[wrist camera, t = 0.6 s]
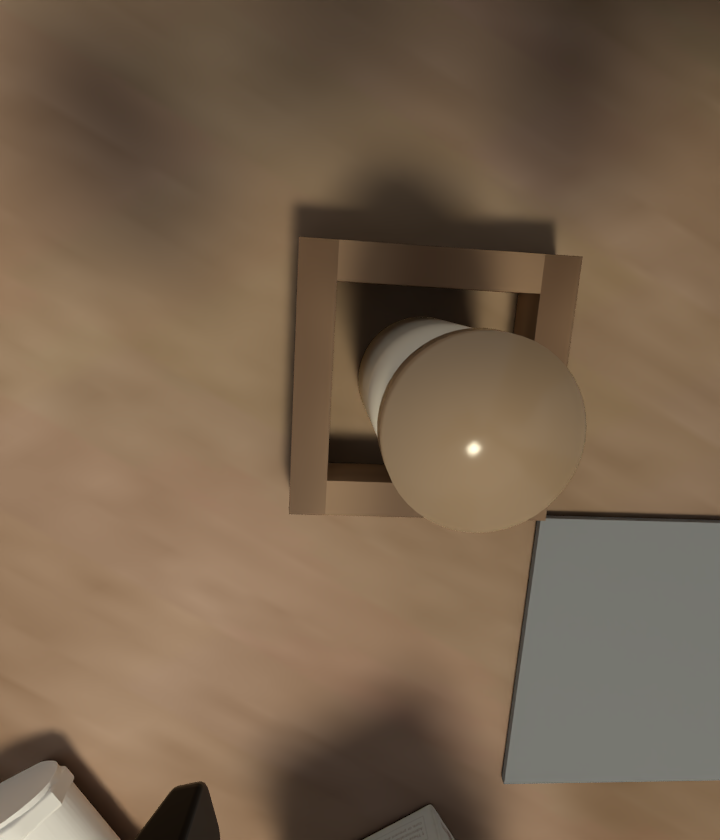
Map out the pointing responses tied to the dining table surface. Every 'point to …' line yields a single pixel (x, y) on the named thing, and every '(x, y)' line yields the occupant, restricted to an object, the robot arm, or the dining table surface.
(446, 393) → the jar
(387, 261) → the pocket frame
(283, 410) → the dining table surface
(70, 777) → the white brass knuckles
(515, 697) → the mat
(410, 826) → the supplement box
